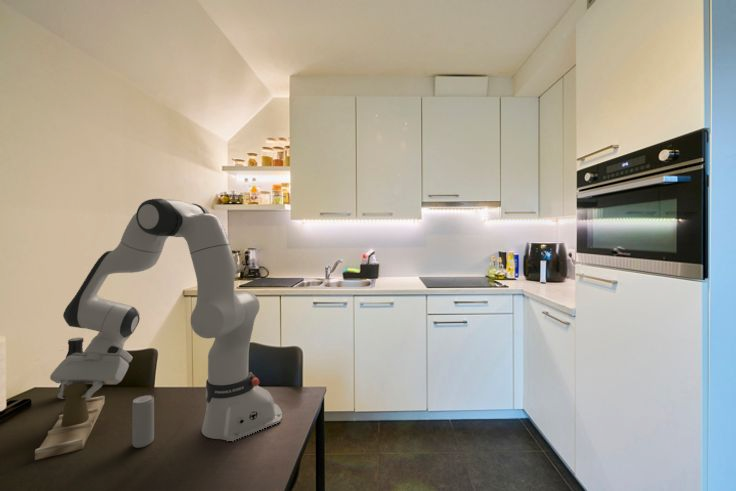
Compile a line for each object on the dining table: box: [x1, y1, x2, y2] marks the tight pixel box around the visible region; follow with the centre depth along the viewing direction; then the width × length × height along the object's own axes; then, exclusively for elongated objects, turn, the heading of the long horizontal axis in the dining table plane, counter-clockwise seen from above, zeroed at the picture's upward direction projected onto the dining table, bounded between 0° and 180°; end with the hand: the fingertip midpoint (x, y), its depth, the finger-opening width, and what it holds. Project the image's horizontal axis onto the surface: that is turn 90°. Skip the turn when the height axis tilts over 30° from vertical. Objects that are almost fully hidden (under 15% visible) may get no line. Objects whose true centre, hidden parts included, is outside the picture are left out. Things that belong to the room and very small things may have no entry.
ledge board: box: [34, 395, 106, 461], centre depth 94 cm, size 9×28×2 cm, turn 30°
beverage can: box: [131, 394, 155, 449], centre depth 87 cm, size 5×5×12 cm
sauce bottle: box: [64, 337, 84, 359], centre depth 114 cm, size 7×6×20 cm
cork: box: [61, 382, 89, 427], centre depth 94 cm, size 6×6×11 cm
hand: (73, 398), depth 93 cm, fingers open, 6 cm apart
